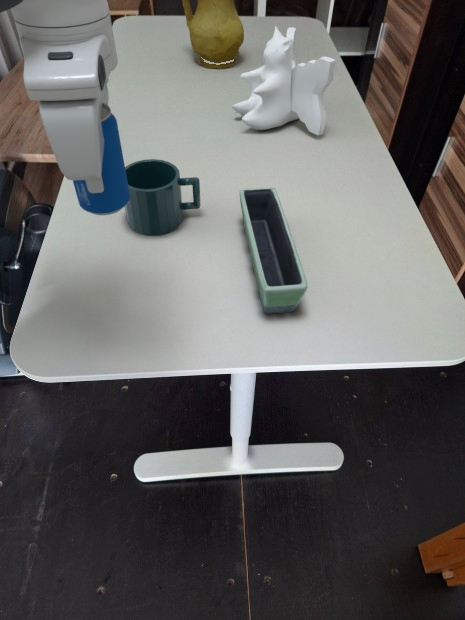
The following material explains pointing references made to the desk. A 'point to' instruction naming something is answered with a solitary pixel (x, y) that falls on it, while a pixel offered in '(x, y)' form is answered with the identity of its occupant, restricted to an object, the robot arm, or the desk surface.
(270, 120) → the white faceted figurine
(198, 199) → the teal faceted mug
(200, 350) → the desk surface
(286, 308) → the planter
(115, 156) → the beverage can
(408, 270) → the desk surface
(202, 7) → the pitcher
